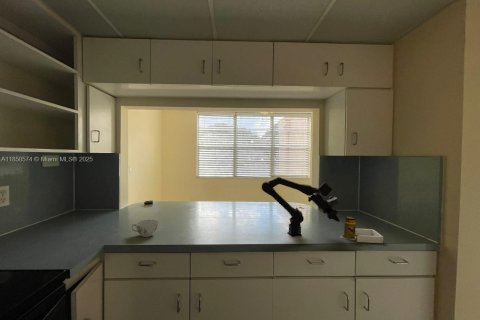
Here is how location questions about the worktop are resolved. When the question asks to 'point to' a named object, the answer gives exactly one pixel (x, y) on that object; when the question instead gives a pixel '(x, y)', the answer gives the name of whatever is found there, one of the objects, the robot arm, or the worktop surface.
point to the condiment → (349, 228)
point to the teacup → (146, 227)
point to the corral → (364, 238)
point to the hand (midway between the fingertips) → (339, 221)
